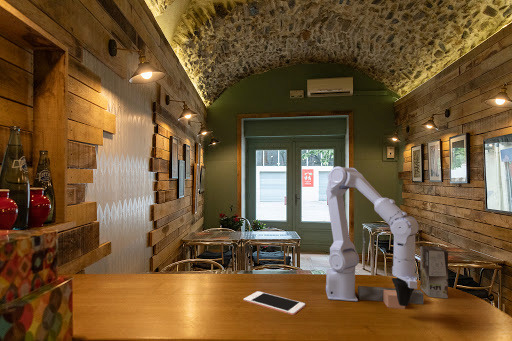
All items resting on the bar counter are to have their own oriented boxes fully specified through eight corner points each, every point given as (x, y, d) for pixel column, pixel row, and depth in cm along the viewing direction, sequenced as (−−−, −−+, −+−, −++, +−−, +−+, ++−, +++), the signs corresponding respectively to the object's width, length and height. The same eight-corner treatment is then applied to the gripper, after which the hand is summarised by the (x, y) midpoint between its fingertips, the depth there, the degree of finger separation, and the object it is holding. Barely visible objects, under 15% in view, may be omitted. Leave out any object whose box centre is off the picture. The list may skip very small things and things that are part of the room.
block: (388, 308, 95) (388, 295, 95) (383, 301, 99) (383, 289, 100) (404, 309, 94) (405, 296, 94) (399, 302, 99) (399, 290, 99)
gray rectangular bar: (359, 299, 101) (359, 288, 101) (357, 296, 104) (357, 285, 104) (423, 304, 98) (423, 293, 98) (419, 300, 101) (419, 290, 101)
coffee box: (448, 299, 103) (449, 251, 104) (428, 297, 104) (428, 250, 105) (438, 289, 112) (438, 246, 113) (419, 288, 113) (419, 244, 114)
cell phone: (257, 293, 104) (257, 290, 104) (305, 306, 94) (306, 303, 95) (242, 301, 97) (242, 298, 97) (293, 316, 87) (293, 313, 87)
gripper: (429, 265, 81) (428, 317, 80) (409, 253, 95) (408, 296, 95) (401, 264, 82) (400, 314, 81) (385, 251, 96) (384, 294, 96)
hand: (403, 305), depth 88 cm, fingers closed
